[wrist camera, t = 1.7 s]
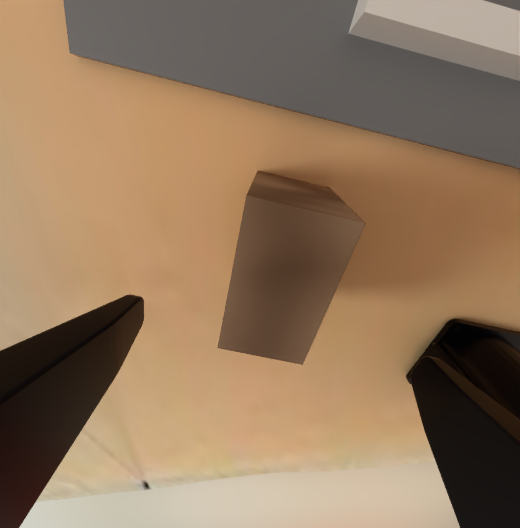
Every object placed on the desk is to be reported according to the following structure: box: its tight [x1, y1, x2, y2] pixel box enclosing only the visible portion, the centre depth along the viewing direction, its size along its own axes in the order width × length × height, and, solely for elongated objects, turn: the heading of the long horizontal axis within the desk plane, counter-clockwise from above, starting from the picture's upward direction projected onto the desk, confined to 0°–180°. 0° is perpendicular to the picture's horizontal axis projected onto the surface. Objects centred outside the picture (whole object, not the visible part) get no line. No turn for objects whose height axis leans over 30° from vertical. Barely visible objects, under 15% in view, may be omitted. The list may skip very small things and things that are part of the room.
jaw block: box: [218, 171, 365, 365], centre depth 12 cm, size 4×7×6 cm, turn 168°
